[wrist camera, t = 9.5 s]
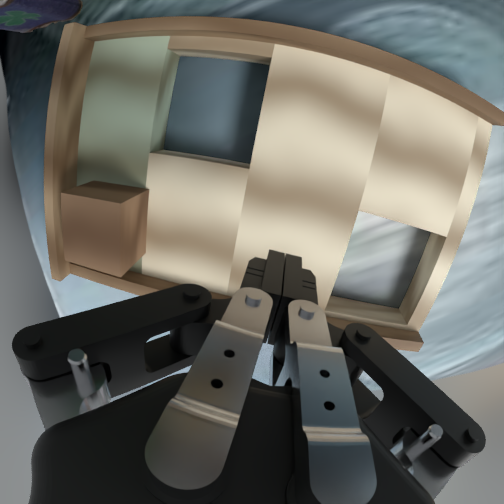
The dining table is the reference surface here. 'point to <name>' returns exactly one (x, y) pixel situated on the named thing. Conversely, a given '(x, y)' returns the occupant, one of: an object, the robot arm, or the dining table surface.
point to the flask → (36, 13)
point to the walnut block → (104, 225)
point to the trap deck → (267, 157)
